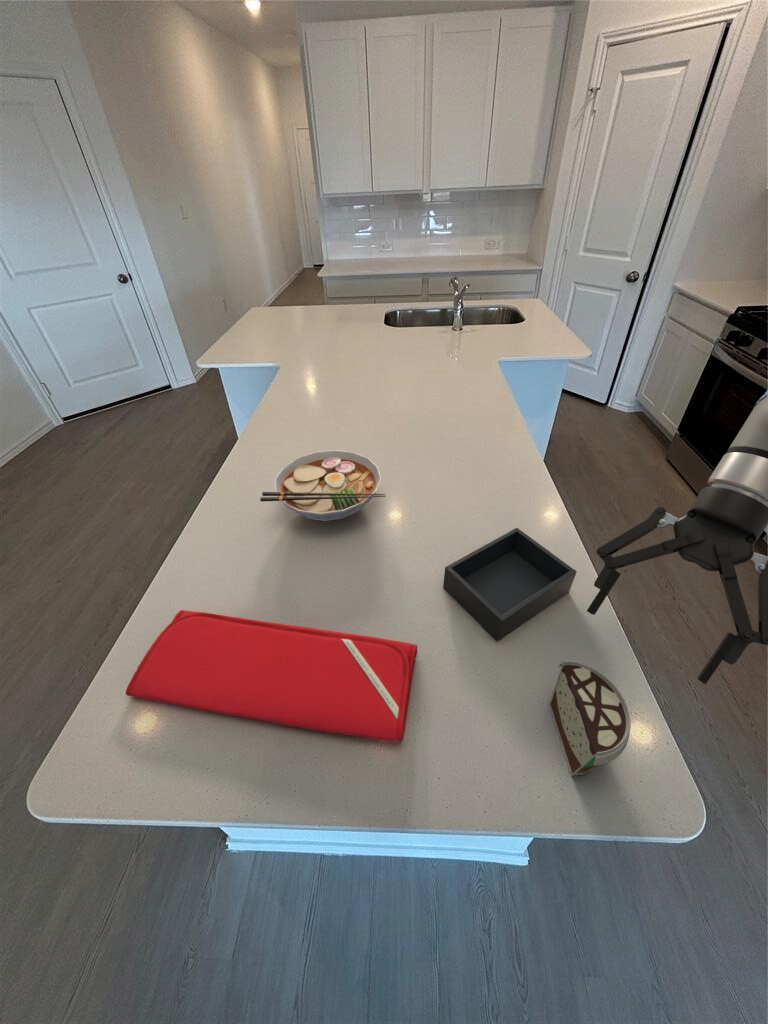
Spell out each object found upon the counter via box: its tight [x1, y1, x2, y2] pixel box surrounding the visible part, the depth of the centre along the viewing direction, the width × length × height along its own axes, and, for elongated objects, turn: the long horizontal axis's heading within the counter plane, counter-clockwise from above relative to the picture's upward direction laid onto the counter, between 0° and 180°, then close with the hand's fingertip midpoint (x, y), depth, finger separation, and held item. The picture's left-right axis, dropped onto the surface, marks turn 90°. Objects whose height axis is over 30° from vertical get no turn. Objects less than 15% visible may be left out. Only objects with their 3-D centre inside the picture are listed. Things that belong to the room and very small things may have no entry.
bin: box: [442, 527, 577, 642], centre depth 77 cm, size 14×18×6 cm
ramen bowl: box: [259, 449, 386, 522], centre depth 96 cm, size 25×23×8 cm
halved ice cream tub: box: [548, 660, 632, 778], centre depth 56 cm, size 12×6×10 cm, turn 1°
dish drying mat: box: [125, 609, 418, 742], centre depth 66 cm, size 16×41×4 cm, turn 79°
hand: (641, 644), depth 55 cm, fingers open, 13 cm apart
